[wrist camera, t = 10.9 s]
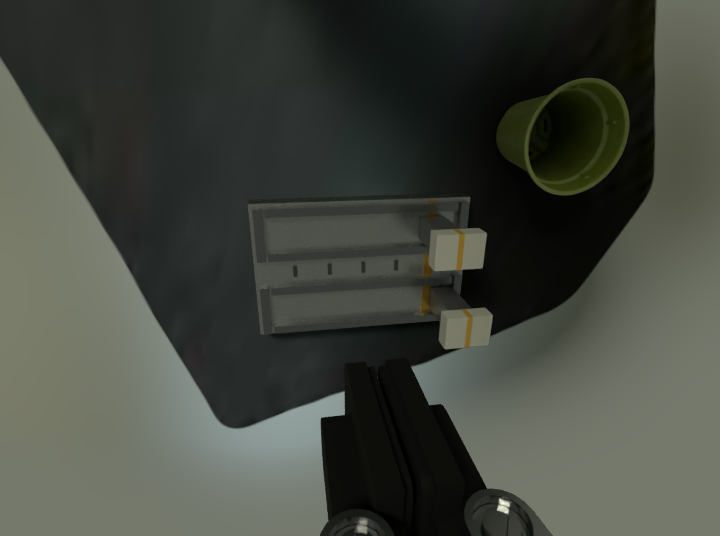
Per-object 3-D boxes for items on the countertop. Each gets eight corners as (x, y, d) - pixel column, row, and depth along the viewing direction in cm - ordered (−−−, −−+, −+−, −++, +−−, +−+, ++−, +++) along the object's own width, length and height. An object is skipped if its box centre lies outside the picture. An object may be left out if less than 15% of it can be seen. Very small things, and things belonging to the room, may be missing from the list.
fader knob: (422, 285, 44) (447, 319, 37) (460, 282, 45) (493, 315, 38) (420, 311, 45) (444, 349, 38) (458, 309, 46) (488, 345, 39)
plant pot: (569, 162, 44) (631, 174, 36) (488, 191, 44) (533, 210, 36) (560, 70, 40) (627, 61, 32) (471, 101, 40) (517, 100, 32)
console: (249, 199, 40) (247, 206, 37) (462, 193, 43) (473, 198, 41) (261, 325, 45) (260, 338, 43) (451, 310, 48) (460, 321, 46)
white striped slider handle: (411, 213, 41) (437, 235, 34) (453, 211, 41) (486, 232, 34) (409, 243, 42) (434, 271, 35) (450, 241, 43) (482, 268, 36)
